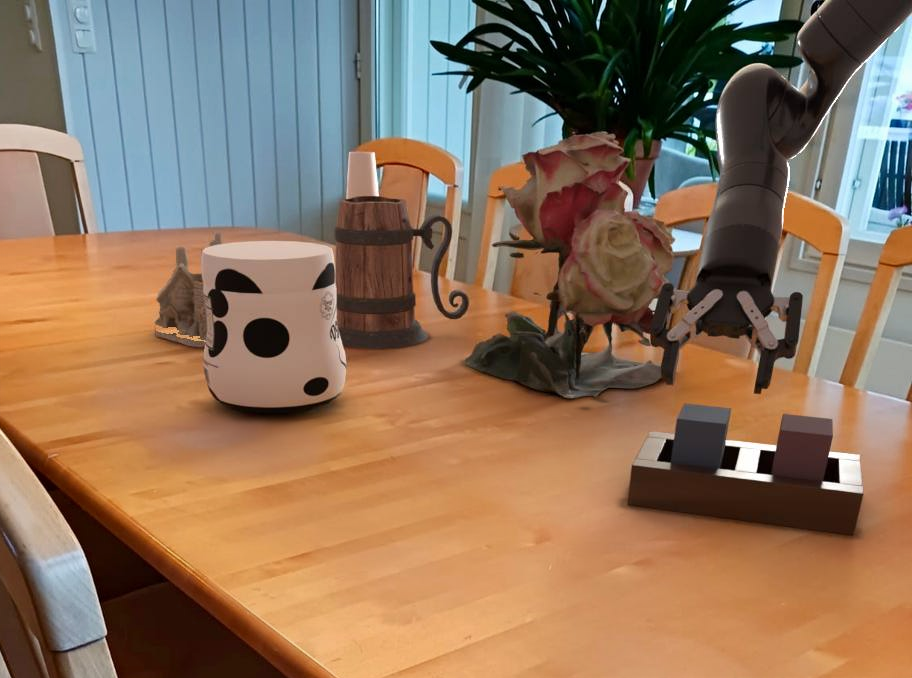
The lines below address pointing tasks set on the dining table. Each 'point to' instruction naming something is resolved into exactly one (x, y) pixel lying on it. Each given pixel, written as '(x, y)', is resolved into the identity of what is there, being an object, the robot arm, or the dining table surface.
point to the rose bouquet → (581, 272)
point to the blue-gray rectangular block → (700, 436)
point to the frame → (748, 487)
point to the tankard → (383, 273)
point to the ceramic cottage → (184, 302)
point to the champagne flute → (362, 175)
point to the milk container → (272, 326)
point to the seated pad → (803, 447)
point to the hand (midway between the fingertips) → (713, 385)
